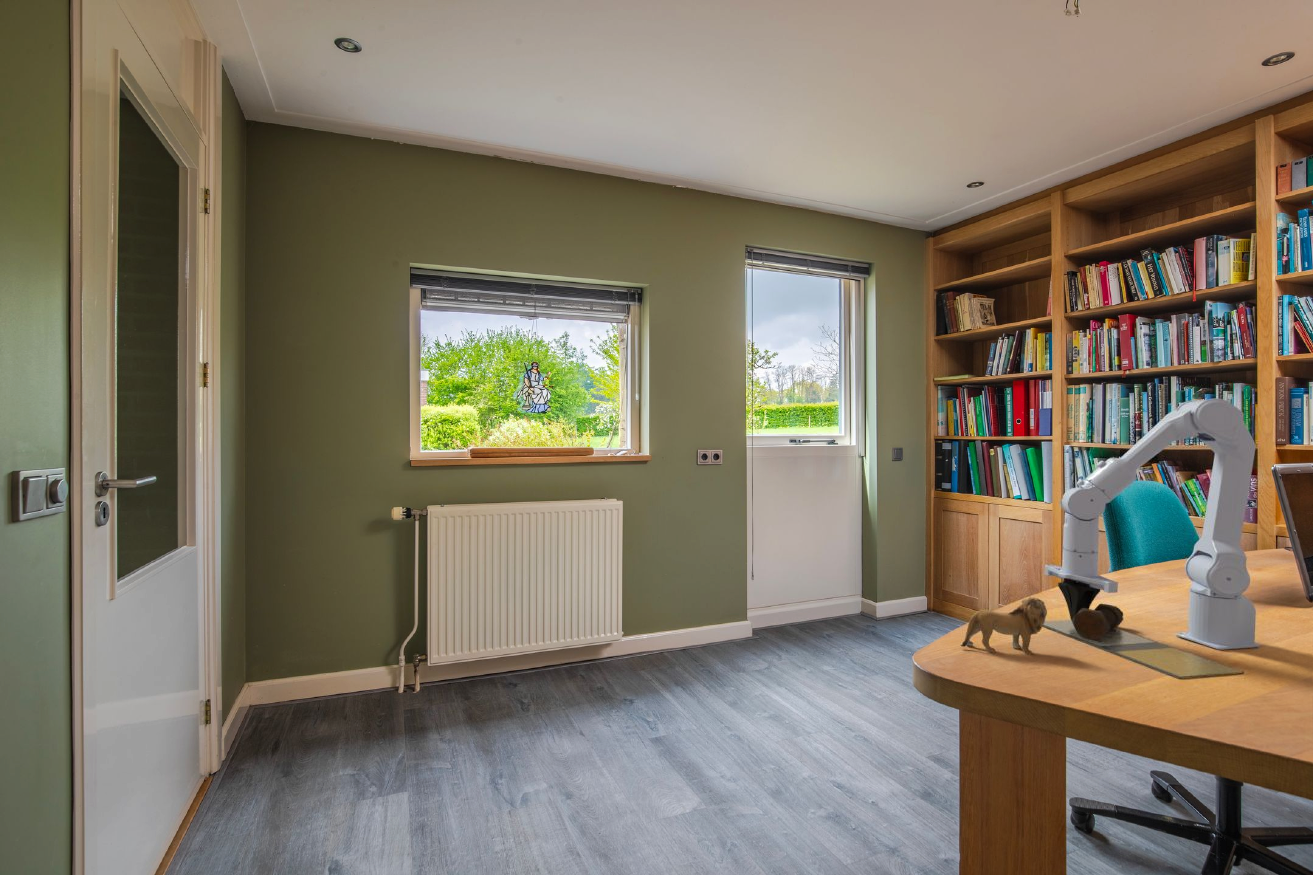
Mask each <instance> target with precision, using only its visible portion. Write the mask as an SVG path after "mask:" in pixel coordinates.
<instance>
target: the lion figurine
mask: <svg viewBox="0 0 1313 875" xmlns="http://www.w3.org/2000/svg"><path fill="white" fill-rule="evenodd" d="M1047 614H1048V610H1047V608H1046V605H1045V601H1043V600H1041V599H1040V598H1038V597H1032V596H1030V597H1028V598H1025V599H1022V600H1021V604H1020V605H1018V606H1017V607H1016V608H1015V609H1013V610H1012V611H1010V612H996V611H994V610H991V609H981V610H977V611H976V612H975V613H974V614H972V616H971V617H970V620H969V622H968V624H967V629H966V632H965V638H964V641H963V642H962V644H960V647H963V648H965V647H966V646H970V647H972V646H974V642H973V641H970V640H971V638H972V637H973V636H974V635H976V634H978V633H980V632H981V634H982V640H981V643H982V645H983V646H984V649H986V651H987V652H988V653H991V654H995V653H996V649H995V648H994V647H991V646H990V639H991V637H992V634H993V633H994V631H995V632H997V633H998V634H1001V635H1005V636H1012V644H1011V645H1012V648H1013V647H1014V648H1013V649H1015V648H1017V649H1016V650H1019V649H1018V648H1021V649H1022V651H1023V653H1024V654H1026V653H1027V655H1030V654H1031V655H1032V654H1033V651H1032V650H1030V649H1029V646H1030V643H1031V639H1032V637H1031V636H1032V635H1037V634H1038V633H1039V632H1041V630H1042V628H1043V627H1042V626H1043V624H1044V622H1045V621H1046V618H1047ZM1020 637H1021V640H1022V646H1021V645H1020V644H1019V643H1020V642H1019V641H1020Z"/></svg>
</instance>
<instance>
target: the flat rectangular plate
mask: <svg viewBox="0 0 1313 875" xmlns="http://www.w3.org/2000/svg"><path fill="white" fill-rule="evenodd" d="M1042 628H1045V629H1048V630H1051V631H1053V632H1055V633H1058V634H1061V635H1063V636H1066V637H1068V638H1071V639H1074V640H1077V641H1079V642H1082V643H1085V644H1087V645H1090V646H1092V647H1095V648H1098V649H1100V650H1102V651H1105V652H1107V653H1110V654H1114V655H1116V656H1118V657H1121V658H1124V659H1126V660H1128V661H1131V662H1133V663H1137V664H1139V665H1142V666H1144V667H1147V668H1148V669H1149V668H1150V669H1152V670H1155V671H1157V672H1159V673H1163V674H1166V675H1167V676H1170V677H1173V678H1175V679H1177V680H1178V679H1179V680H1180V679H1182V680H1183V679H1192V678H1205V677H1206V678H1207V677H1217V676H1229V675H1239V673H1241V674H1244V673H1245V671H1243V670H1240V669H1238V668H1235V667H1232V666H1230V665H1226V664H1223V663H1221V662H1217V661H1215V660H1212V659H1209V658H1205V657H1203V656H1199V655H1197V654H1194V653H1191V652H1188V651H1185V650H1183V649H1182V650H1181V649H1180V648H1176V647H1172V646H1170V645H1167V644H1165V643H1161V642H1158V641H1155V640H1153V639H1150V638H1146V637H1143V636H1140V635H1137V634H1135V633H1133V632H1129V631H1126V630H1124V629H1120V628H1118V627H1117V628H1116V629H1115V630H1110V629H1109V630H1108V631H1107V632H1106V634H1105V635H1104V636H1103V637H1102V638H1101V639H1100V640H1092V639H1088V638H1084V637H1081V636H1079V634H1078V633H1077V631H1076V630H1075V628H1074V625H1073V623H1072V620H1071V619H1063V620H1045V622H1044V624H1043V626H1042Z"/></svg>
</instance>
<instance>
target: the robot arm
mask: <svg viewBox="0 0 1313 875" xmlns="http://www.w3.org/2000/svg"><path fill="white" fill-rule="evenodd" d="M1190 438H1196V439H1198V440H1200V441H1201V442H1203V444H1204V445H1206V446H1207V447H1208V448H1209V450H1211V451H1212V452H1213V453H1214V457H1213V465H1212V471H1211V478H1210V482H1209V490H1208V494H1207V502H1206V508H1205V516H1204V522H1203V527H1202V533H1201V537H1200V538H1199V540H1198V541H1196V543H1195V544H1194V546H1193V551H1192V554H1191V555H1190V556H1189V557H1188V558H1187V560H1186V561H1185V564H1184V571H1185V574H1186V576H1187V577H1188V579H1189V580H1190V581H1191V584H1190V586H1189V597H1188V598H1189V602H1188V624H1187V625H1188V627H1187V628H1188V629H1187V630H1188V631H1186V632H1185V631H1183V632H1176V633H1175V636H1176V637H1179V638H1182V639H1185V640H1189V641H1191V642H1194V643H1198V644H1200V645H1204V646H1207V647H1211V648H1214V649H1216V650H1221V651H1222V650H1233V649H1235V650H1236V649H1248V648H1260V647H1261V644H1260V643H1257V642H1255V639H1256V618H1257V617H1256V615H1257V611H1256V607H1255V605H1254V603H1253V602H1252V600H1251V599H1250V598H1249V597H1248V596H1246V595H1244V594H1243V593H1245V592H1246V591H1247V590H1248V588H1249V586H1250V585H1251V584H1250V583H1251V577H1250V576H1251V575H1250V574H1249V570H1248V569H1247V559H1248V557H1247V554H1246V553H1245V551H1244V549H1243V547H1242V545H1241V542H1242V541H1241V540H1242V535H1243V527H1244V522H1245V515H1246V510H1247V503H1248V496H1249V490H1250V483H1251V479H1252V472H1253V466H1254V460H1255V455H1256V454H1255V453H1256V444H1255V443H1256V442H1255V441H1254V439H1253V437H1252V435H1251V433H1250V431H1249V428H1248V426H1247V425H1246V423H1245V421H1244V412H1243V411H1242V410H1241V409H1239V408H1238V407H1237V406H1235V405H1234V404H1233V403H1231V402H1230V401H1228V400H1226V399H1223V398H1210V399H1204V400H1195V399H1193V400H1188V401H1184V402H1182V403H1181V404H1180V405H1179V406H1177V407H1176V409H1175V410H1172V411H1170V412H1169V413H1167V414H1166V415H1165V416H1164V417H1163V418H1161V420H1159V421H1158V422H1157V424H1155V425H1154V426H1153V427H1152V428H1151V429H1150V430H1149V431H1148V432H1147V433H1145V435H1144V436H1142V437H1141V439H1139V440H1138V441H1137V442H1136V443H1135V444H1134V445H1133V446H1132V447H1130V448H1129V450H1127V452H1125V453H1124V454H1123V455H1122V456H1121V457H1119V458H1117V457H1115V458H1113V457H1112V458H1111V457H1110V458H1108V459H1107V460H1105V461H1104V460H1100V461H1099V462H1097V463H1096V464H1095V466H1096V467H1097V468H1096V469H1095V470H1093V471H1092V472H1091V473H1090V474H1089V475H1088V476H1087V477H1086V478H1084V479H1083V480H1082V479H1079V480H1078V481H1077V482H1076V485H1077V486H1078V487H1077V486H1076V487H1072V488H1070V489H1068V490H1067V491H1065V492H1064V494H1063V495H1062V498H1061V499H1060V500H1059V502H1060V507H1061V510H1063V511H1064V524H1063V527H1062V528H1063V532H1062V537H1063V538H1062V560H1061V561H1062V564H1061V566H1059V565H1055V564H1045V565H1044V575H1045V576H1050V577H1056V578H1059V579H1063V581H1062V582H1058V585H1057V586H1058V589H1060V592H1061V593H1062V595H1063V597H1064V600H1065V603H1066V605H1067V609H1068V613H1069V614H1068V615H1069V618H1070V620H1072V619H1073V618H1074V616H1075V615H1076V614H1077V613H1078V612H1079V611H1080V610H1081V609H1082V608H1086V609H1090V608H1091V606H1092V604H1093V602H1094V600H1095V598H1096V597H1097V596H1098V595H1099V594H1100V592H1101V591H1104V593H1108V594H1110V593H1111V594H1115V593H1118V589H1119V588H1118V586H1119V582H1118V581H1115V580H1111V579H1109V578H1107V577H1104V576H1102V575H1100V574H1098V570H1099V568H1098V566H1099V539H1100V538H1099V537H1100V528H1099V525H1100V524H1099V523H1100V522H1099V521H1100V519H1099V518H1100V516H1102V515H1103V514H1104V513H1105V509H1106V504H1108V503H1110V502H1111V501H1113V500H1114V499H1115V498H1116V497H1117V496H1119V495H1120V494H1121V493H1122V492H1123V491H1125V490H1126V489H1127V488H1128V487H1130V486H1131V485H1132V484H1133V483H1134V482H1136V480H1137V470H1138V469H1139V468H1141V467H1142V466H1143V465H1145V464H1146V463H1148V462H1149V461H1150V460H1151V459H1152V458H1154V457H1155V456H1156V455H1157V454H1159V453H1161V452H1162V451H1163V450H1164V449H1166V448H1167V447H1168V446H1170V445H1171V444H1173V442H1176V441H1180V440H1184V439H1190Z"/></svg>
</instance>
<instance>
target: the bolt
mask: <svg viewBox="0 0 1313 875" xmlns="http://www.w3.org/2000/svg"><path fill="white" fill-rule="evenodd" d="M1123 621H1124V613H1123V611H1122V610H1121V608H1120V607H1117V606H1116V605H1112V604H1111V605H1110V604H1107V603H1099V604H1098V605H1097V606H1096V607H1095V608H1094V609H1090V608H1089V609H1086V608H1082V609H1081V610H1080V611H1079V612H1078V613H1077V614H1076V615H1075V616H1074V618H1073V619H1072V623H1073V625H1074V628H1075V630H1076V631H1077V633H1078V634H1079V636H1081V637H1084V638H1088V639H1092V640H1100V639H1101V638H1102V637H1103V636H1104V635H1105V634H1106V632H1107V631H1108V630H1109V629H1110V630H1115V629H1116V628H1117V629H1118V627H1119V626H1120V625H1121V623H1122V622H1123Z"/></svg>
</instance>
